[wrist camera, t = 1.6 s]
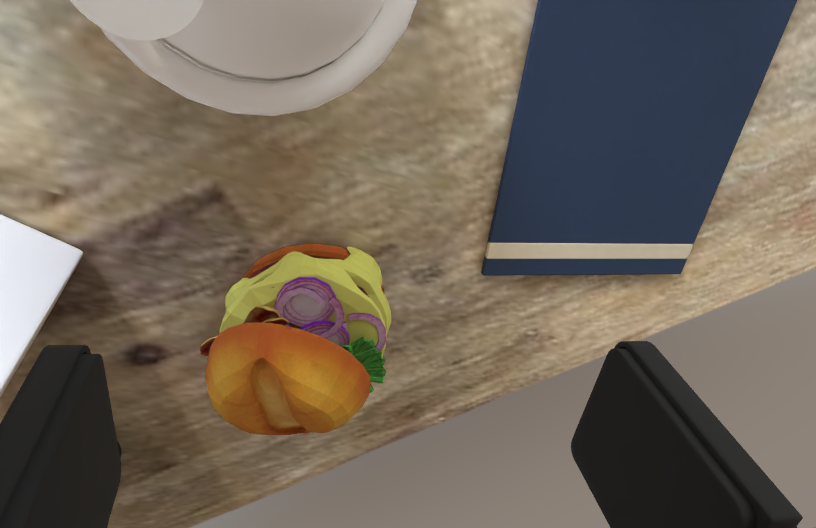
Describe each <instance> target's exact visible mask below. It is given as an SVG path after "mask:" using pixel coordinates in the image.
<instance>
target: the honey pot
mask: <svg viewBox="0 0 816 528" xmlns="http://www.w3.org/2000/svg"><path fill="white" fill-rule="evenodd" d="M70 1H71V3H72V4H73V5H74V6H75V7H76V8H77V9H78V10H79V11H80V12H81V13H82V14H83V15H84V16H85V17H87V18H88V19H89V20H90V21H92V22H93V23H95V24H96V25H98V26H99V27H100V28H101V30H102V31H103V33H104V34H105V35H106V37H107V38H108V39H109V40H110V41H111V42H112V43H114V44H115V45H116V46H117V47H118V48H119V49H120V50H121V51H122V52H123V53H124V54H125V55H126V56H127V57H128V58H129V59H130V60H131V61H133V62H134V63H135V64H136V65H137V66H138V67H139V68H140V69H141V70H142V71H143V72H144V73H145V74H147V75H149V76H150V77H152V78H154V79H155V80H157V81H159V82H160V83H162V84H164V85H165V86H167V87H169V88H170V89H172V90H173V91H175V92H177V93H178V94H180V95H182V96H183V97H185V98H187V99H190V100H193V101H196V102H199V103H202V104H205V105H208V106H211V107H214V108H217V109H220V110H223V111H226V112H229V113H238V114H251V115H264V116H277V115H283V114H288V113H294V112H299V111H305V110H310V109H314V108H317V107H319V106H321V105H323V104H325V103H327V102H329V101H331V100H333V99H336V98H338V97H340V96H342V95H344V94H346V93H348V92H350V91H351V90H353V89H354V88H355V87H356V86H357V85H358V84H360V83H361V82H362V81H363V80H364V79H365V78H367V77H368V76H369V75H370V74H371V73H372V72H374V71H375V70H376V69H377V68H378V67H379V66H381V65H382V63H383V62H384V61H385V59H386V58H387V56H388V55H389V53H390V52H391V50H392V49H393V48H394V46H395V45H396V43H397V42H398V40H399V39H400V37H401V36H402V35H403V33H404V32H405V30H406V29H407V26H408V23H409V21H410V18H411V16H412V13H413V10H414V8H415V5H416V2H417V0H70Z"/></svg>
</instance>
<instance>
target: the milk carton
mask: <svg viewBox="0 0 816 528" xmlns="http://www.w3.org/2000/svg"><path fill="white" fill-rule="evenodd" d="M82 256H83V252H82V251H81V250H79V249H77V248H75V247H73V246H71V245H69V244H66V243H64V242H62V241H60V240H57V239H55V238H53V237H50V236H48V235H46V234H44V233H41V232H39V231H37V230H35V229H32V228H30V227H28V226H26V225H23V224H21V223H19V222H16V221H14V220H12V219H10V218H7V217H5V216H3V215H1V214H0V397H1V396H2V394H3V392H4V391H5V389H6V387H7V385H8V384H9V382H10V380H11V379H12V377H13V375H14V374H15V372H16V370H17V369H18V367H19V365H20V364H21V362H22V360H23V358H24V357H25V355H26V353H27V352H28V350H29V348H30V347H31V345H32V343H33V342H34V340H35V338H36V336H37V335H38V333H39V331H40V329H41V328H42V326H43V324H44V322H45V321H46V319H47V317H48V315H49V314H50V312H51V310H52V308H53V307H54V305H55V303H56V301H57V300H58V298H59V296H60V294H61V293H62V291H63V289H64V287H65V286H66V284H67V282H68V280H69V279H70V277H71V275H72V273H73V272H74V270H75V268H76V266H77V265H78V263H79V261H80V259H81V258H82Z"/></svg>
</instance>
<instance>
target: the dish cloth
mask: <svg viewBox="0 0 816 528" xmlns="http://www.w3.org/2000/svg"><path fill="white" fill-rule="evenodd" d="M796 2H797V0H538V4H537V9H536V14H535V19H534V24H533V28H532V33H531V38H530V43H529V47H528V52H527V57H526V62H525V67H524V71H523V76H522V81H521V86H520V90H519V95H518V100H517V105H516V110H515V114H514V119H513V124H512V129H511V133H510V138H509V143H508V148H507V152H506V157H505V162H504V167H503V172H502V176H501V181H500V186H499V191H498V195H497V200H496V205H495V210H494V215H493V219H492V224H491V229H490V234H489V238H488V243H487V248H486V253H485V257H484V262H483V267H482V272H481V273H482V275H622V274H681V272H682V269H683V267H684V265H685V262H686V260H687V258H688V256H689V254H690V251H691V249H692V246H693V244H694V241H695V239H696V237H697V234H698V232H699V230H700V227H701V225H702V223H703V220H704V218H705V215H706V213H707V211H708V208H709V206H710V204H711V201H712V199H713V197H714V194H715V192H716V190H717V187H718V185H719V183H720V180H721V178H722V176H723V173H724V171H725V168H726V166H727V164H728V161H729V159H730V157H731V154H732V152H733V150H734V147H735V145H736V143H737V140H738V138H739V136H740V133H741V131H742V129H743V126H744V124H745V122H746V119H747V117H748V114H749V112H750V110H751V107H752V105H753V103H754V100H755V98H756V96H757V93H758V91H759V89H760V86H761V84H762V82H763V79H764V77H765V75H766V72H767V70H768V68H769V65H770V63H771V60H772V58H773V56H774V53H775V51H776V49H777V46H778V44H779V42H780V39H781V37H782V35H783V32H784V30H785V28H786V25H787V23H788V21H789V18H790V16H791V14H792V11H793V9H794V6H795V4H796Z"/></svg>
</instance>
